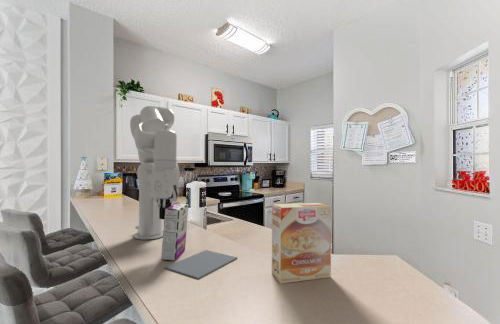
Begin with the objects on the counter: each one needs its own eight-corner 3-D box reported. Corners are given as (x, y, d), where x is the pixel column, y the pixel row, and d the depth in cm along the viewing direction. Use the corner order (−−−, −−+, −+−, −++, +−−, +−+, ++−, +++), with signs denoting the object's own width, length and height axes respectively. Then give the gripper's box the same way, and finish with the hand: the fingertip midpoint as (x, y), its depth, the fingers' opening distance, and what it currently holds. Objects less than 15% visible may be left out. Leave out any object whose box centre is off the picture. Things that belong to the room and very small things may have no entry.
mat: (164, 268, 73) (164, 266, 73) (206, 251, 88) (206, 250, 88) (198, 279, 66) (198, 277, 66) (237, 258, 81) (237, 257, 81)
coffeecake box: (280, 284, 63) (280, 207, 64) (270, 273, 70) (271, 203, 71) (332, 277, 67) (331, 205, 68) (318, 267, 74) (318, 201, 75)
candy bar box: (171, 248, 90) (175, 203, 90) (185, 249, 90) (189, 204, 90) (159, 260, 79) (164, 207, 79) (175, 261, 79) (180, 209, 79)
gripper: (142, 165, 88) (141, 218, 88) (171, 165, 80) (170, 222, 80) (160, 166, 95) (159, 215, 94) (188, 165, 87) (187, 219, 86)
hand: (164, 218), depth 87 cm, fingers closed
